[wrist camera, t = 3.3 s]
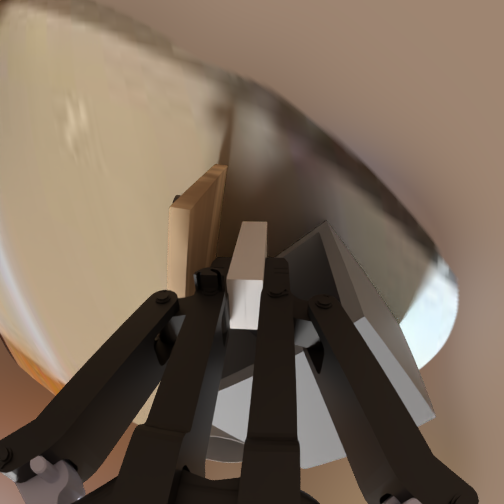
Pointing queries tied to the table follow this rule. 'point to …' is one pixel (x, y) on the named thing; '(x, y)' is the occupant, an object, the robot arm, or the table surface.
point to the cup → (224, 447)
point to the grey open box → (308, 394)
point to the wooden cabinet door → (194, 230)
